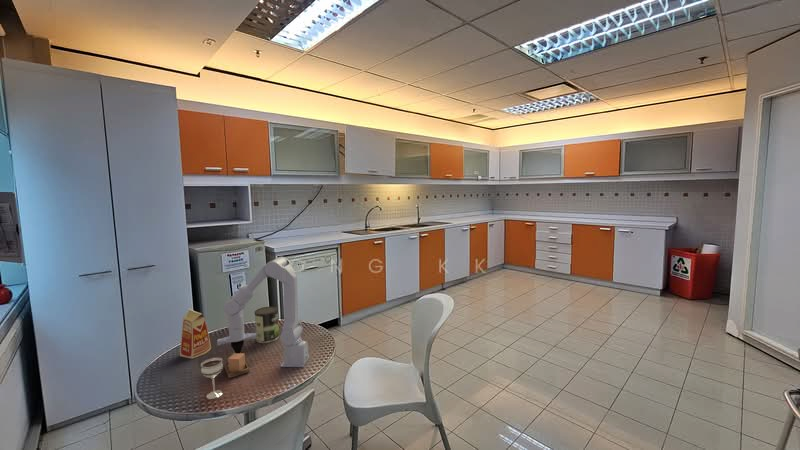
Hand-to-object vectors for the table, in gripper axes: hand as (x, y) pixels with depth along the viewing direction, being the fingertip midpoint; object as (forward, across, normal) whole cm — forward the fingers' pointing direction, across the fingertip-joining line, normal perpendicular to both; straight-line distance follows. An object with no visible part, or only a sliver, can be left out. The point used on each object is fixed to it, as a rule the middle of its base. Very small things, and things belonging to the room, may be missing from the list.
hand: (238, 357), depth 141 cm
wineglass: (+2, +7, +22) cm, 23 cm away
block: (+2, 0, +9) cm, 9 cm away
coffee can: (+2, -12, -18) cm, 21 cm away
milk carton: (+2, +18, -16) cm, 24 cm away
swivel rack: (+1, +1, +5) cm, 5 cm away
